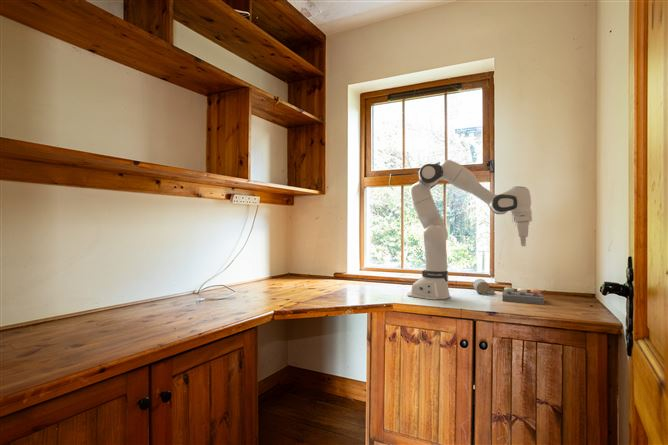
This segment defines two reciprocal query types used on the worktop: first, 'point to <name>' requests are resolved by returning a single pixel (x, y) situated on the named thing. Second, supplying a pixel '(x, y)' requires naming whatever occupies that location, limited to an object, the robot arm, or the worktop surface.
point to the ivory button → (521, 291)
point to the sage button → (509, 290)
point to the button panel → (523, 298)
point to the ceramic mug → (482, 287)
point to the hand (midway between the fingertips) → (523, 245)
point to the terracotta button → (535, 292)
